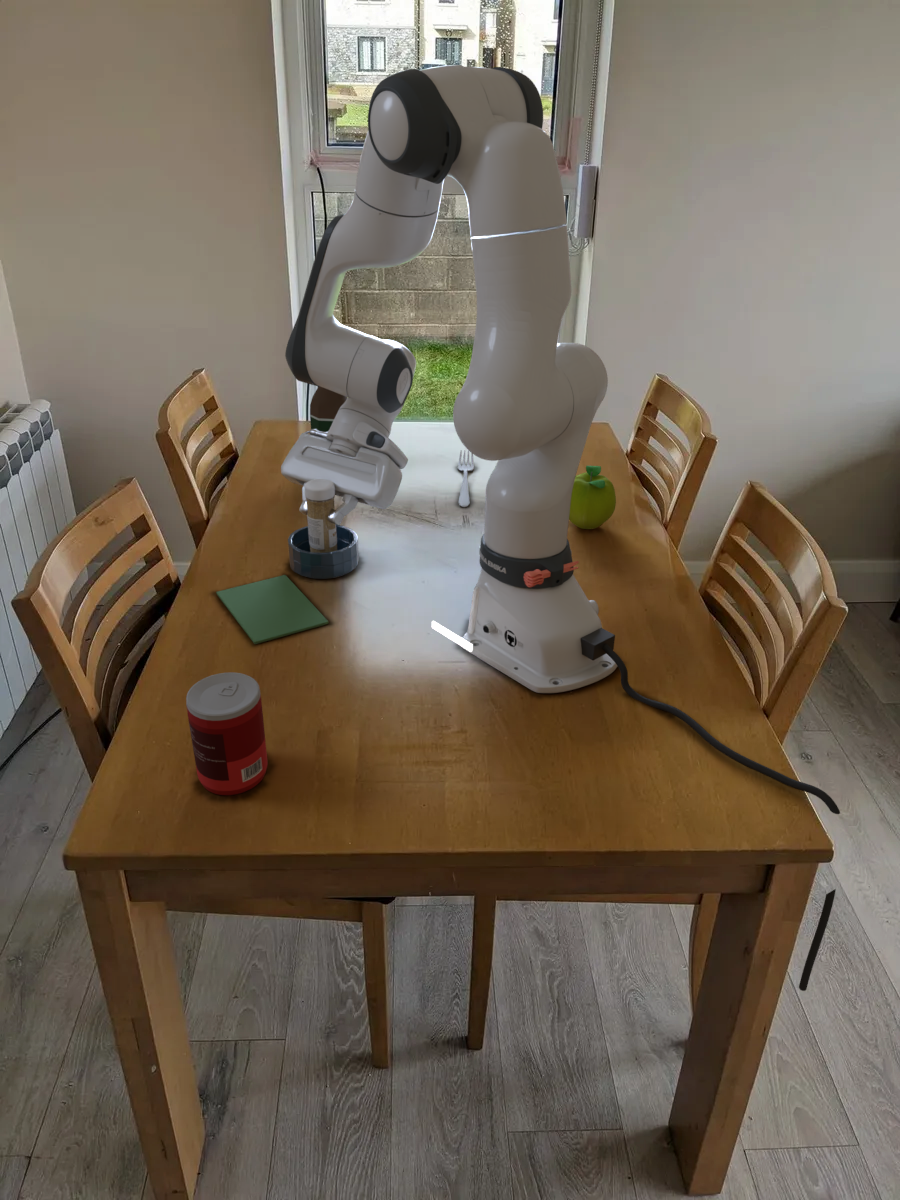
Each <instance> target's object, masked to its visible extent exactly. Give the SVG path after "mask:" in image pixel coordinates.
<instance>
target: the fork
mask: <svg viewBox="0 0 900 1200" xmlns="http://www.w3.org/2000/svg"><path fill="white" fill-rule="evenodd" d="M462 453H463V456H462ZM470 453H471V452H470V451H469V450H468V449H467V458H466V449H465V450H464V451H462V450H460V452H459V458H458V464H457V470H459V471H460V472H463V478H462V483H461V488H460V493H459V498H458V504H459V506H460V507H461V508H466V507H468V506H470V492H469V483H468V482H469V481H468V472H473V471H474V469H475V464H474V454H472V453H471V454H470ZM462 457H463V458H462ZM466 459H467V460H466ZM470 460H471V462H470ZM470 463H471V465H470Z"/></svg>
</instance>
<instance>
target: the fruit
mask: <svg viewBox="0 0 900 1200" xmlns="http://www.w3.org/2000/svg"><path fill="white" fill-rule="evenodd" d="M585 471H586V472H582V473H579V474H576V476H575V480H574V484H573V490H572V495H571V504H570V514H569V522H570V523H572V524H573V525H574V526H576V527H577V528H579V529H582V530H595V529H597V528H599V527H600V526H602V525H603V524H605V523H606V522H607V521H608V520H609V519H610V518H611V517H612V516H613V514H614V512H615V510H616V506H617V497H616V490H615V487H614V484H613V482H612V481H611V480H610V479H609V478H608V477H606V476H605V475H602V474H601V473H602V466H601V465H586V466H585Z"/></svg>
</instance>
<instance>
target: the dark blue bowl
mask: <svg viewBox="0 0 900 1200" xmlns="http://www.w3.org/2000/svg"><path fill="white" fill-rule="evenodd" d="M336 533H337V551H333V552H324V553H316V552H310V544H309V533H308V525H306V526H303V527H300V528H298V529H295V530H294V531H293V532H292V533H290V534H289V536H288V538H287V547H288V559H289V567H290V569H291V570H292V571H293V572H294V573H295V574H297V575H299V576H302V577H305V578H308V579H315V580H328V579H329V580H330V579H336V578H340V577H342V576H345V575H347V574H350V573H351V572H353V571H354V570H355V569H356V568H357V567H358V566H359V562H360V558H359V555H360V553H359V537H358V534H357V532H356V531H355V530H353V529H352V528H350V527H347V526H344V525H342V524H340V525H336Z"/></svg>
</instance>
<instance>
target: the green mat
mask: <svg viewBox="0 0 900 1200" xmlns="http://www.w3.org/2000/svg"><path fill="white" fill-rule="evenodd" d="M215 593H216V595H217V597H218V598H219V600H220V601H221V602H222V603H223V605H224V606H225V608H226V609H227V610H228V611H229V613H230V614H231V615H232V616H233V618H234V619H235V621H236V622H237V623H238V624H239V626H240V627H241V628H242V630H243V631H244V632H245V634H246V635H247V636H248V638H249V639H250V640H251V641H252V643H253V644H254V645H257V644H261V643H264V642H267V641H268V642H269V641H271V640H275V639H279V638H284V637H286V636H290V635H294V634H297V633H300V632H304V631H307V630H311V629H314V628H318V627H322V626H325V625H328V624H329V620H328V619H327V618H326V617H325V616H324V615H323V614H322V612H320V611H319V610H318V609H317V608H316V606H315V605H314V604H313V603H312V601H310V600H309V599H308V598H307V596H306V595H305V594H304V593H303V592H302V591H301V590H300V589H299V588H298V586H296V584H294V583H293V581H292V580H291V579H290V578H289V577H288V576H287V575H286V574H282V575H279V576H275V577H270V578H267V579H263V580H259V581H255V582H251V583H247V584H243V585H238V586H234V587H231V588H226V589H222V590H218V591H216V592H215Z"/></svg>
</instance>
